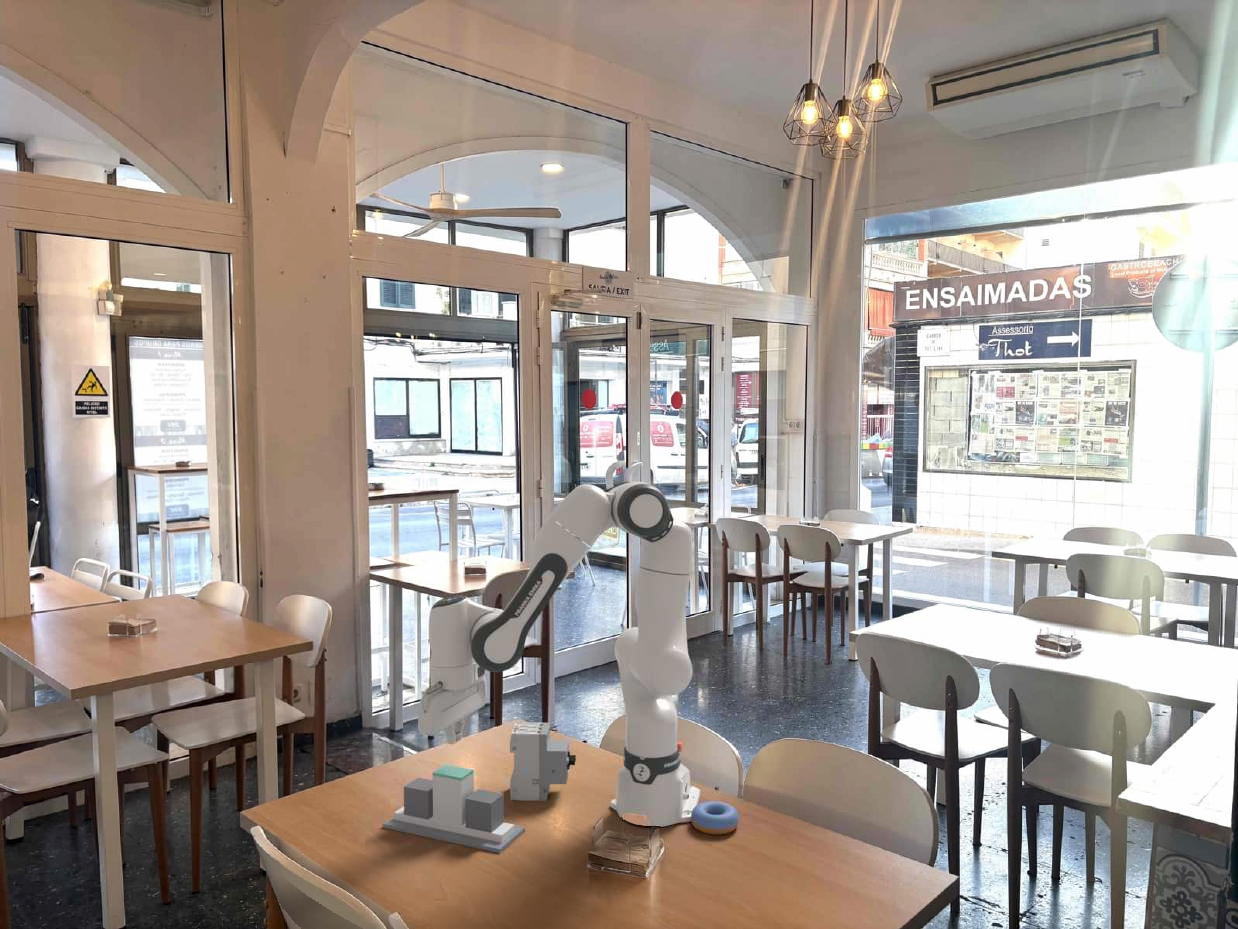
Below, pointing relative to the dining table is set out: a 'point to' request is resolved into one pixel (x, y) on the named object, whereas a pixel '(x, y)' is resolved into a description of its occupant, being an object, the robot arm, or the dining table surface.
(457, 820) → the block
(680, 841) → the dining table surface
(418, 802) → the rail assembly
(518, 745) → the circuit breaker
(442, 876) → the dining table surface
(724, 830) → the doughnut
